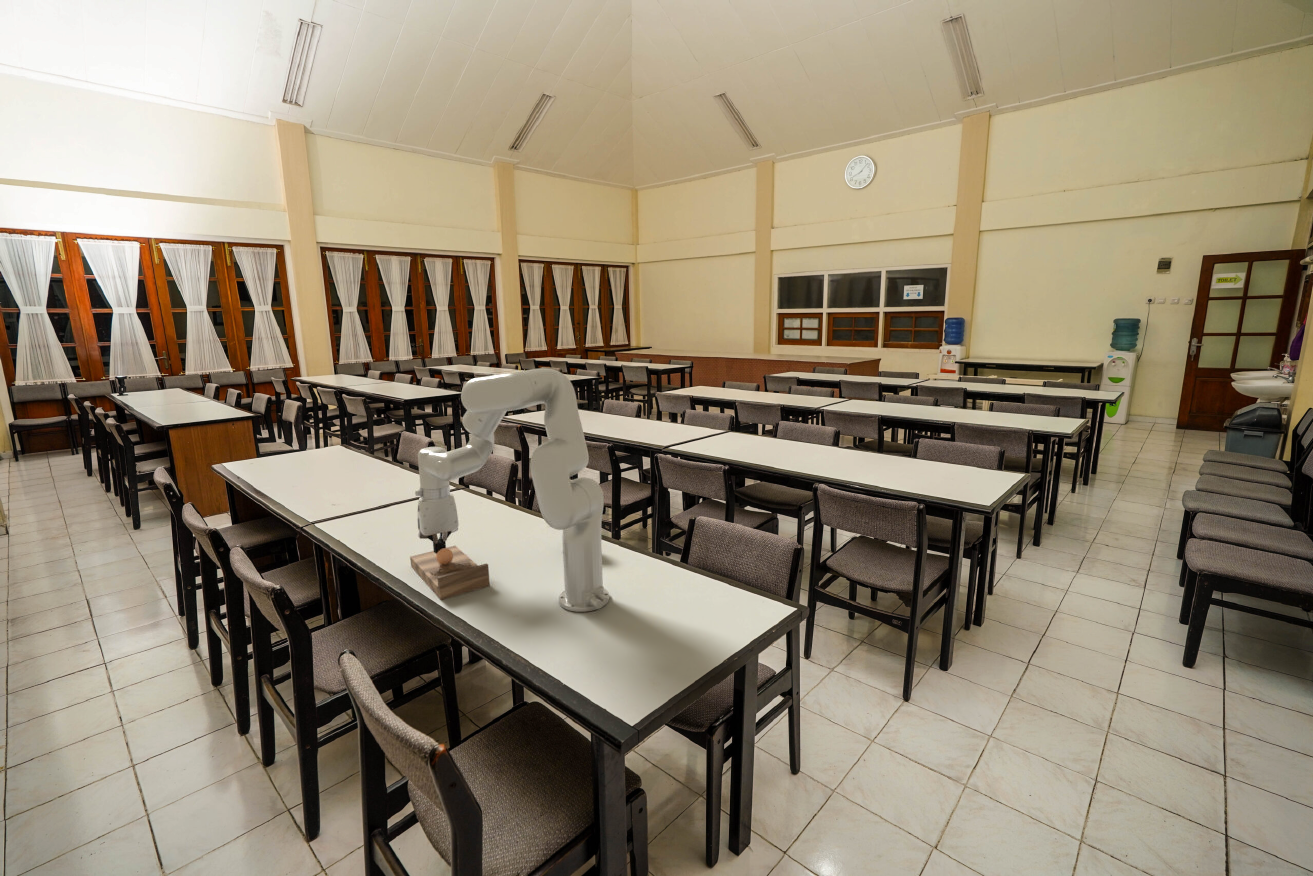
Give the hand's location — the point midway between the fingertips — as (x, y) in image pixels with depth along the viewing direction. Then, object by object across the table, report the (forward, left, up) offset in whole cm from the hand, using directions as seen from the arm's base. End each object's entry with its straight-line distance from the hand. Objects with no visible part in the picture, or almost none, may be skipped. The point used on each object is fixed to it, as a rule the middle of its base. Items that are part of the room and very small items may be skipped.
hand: (440, 554), depth 168 cm
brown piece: (-5, 0, -5) cm, 7 cm away
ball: (-4, 0, 0) cm, 4 cm away
